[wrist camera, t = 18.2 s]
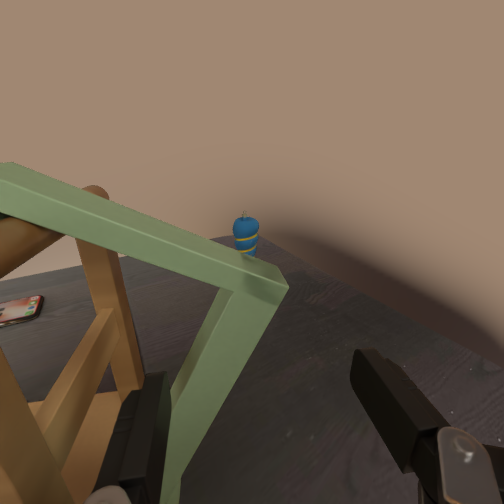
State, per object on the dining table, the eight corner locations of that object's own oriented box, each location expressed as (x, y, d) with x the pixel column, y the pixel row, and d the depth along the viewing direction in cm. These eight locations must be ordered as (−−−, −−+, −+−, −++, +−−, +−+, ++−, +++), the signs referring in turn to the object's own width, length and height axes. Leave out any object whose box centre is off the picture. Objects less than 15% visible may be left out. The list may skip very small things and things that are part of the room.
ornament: (263, 279, 56) (264, 210, 51) (246, 288, 53) (244, 215, 47) (247, 271, 60) (246, 206, 54) (229, 279, 57) (226, 210, 51)
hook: (179, 463, 21) (290, 264, 16) (171, 551, 17) (324, 311, 12) (-31, 438, 17) (31, 159, 12) (-118, 545, 12) (-77, 167, 7)
